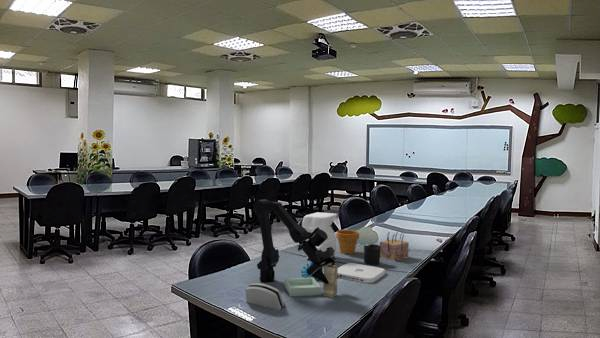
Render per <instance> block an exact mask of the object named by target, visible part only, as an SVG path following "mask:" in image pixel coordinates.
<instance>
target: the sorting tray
mask: <svg viewBox="0 0 600 338" xmlns="http://www.w3.org/2000/svg"><path fill="white" fill-rule="evenodd" d="M283 282H284V283H283V285H284V289H285V290H286V292H287V294H288V296H289V297H302V296H303V297H305V296H306V297H307V296H320V295H322V287H321V285H320V284H319V283H318V281H317V280H316V278H312V277H311V278H308V277H307V278H304V277H299V278H297V277H296V278H295V277H294V278H284V279H283Z"/></svg>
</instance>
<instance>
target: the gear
mask: <svg viewBox="0 0 600 338" xmlns="http://www.w3.org/2000/svg"><path fill="white" fill-rule="evenodd" d="M312 264H313V263H312V262H311V261H310V262H309V263H306V264H305V265H304V266H302V269H301V271H300V273H301V275H300V276H301V278H314V277H311V275H310V276H308V274H307V273H306V270H307V269H308V268H309V267H310V266H311V265H312ZM314 279H315V278H314Z"/></svg>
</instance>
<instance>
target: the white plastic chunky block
mask: <svg viewBox="0 0 600 338" xmlns="http://www.w3.org/2000/svg"><path fill="white" fill-rule="evenodd" d="M337 216H338V213H331V212H322V211H321V212H319V211H317V212H313V213H310V214H305V216H303V219H302V221H301V224H302V225H301V226H302V227H303V228H305V229H306V230H307V232H310V233H312V232H313V231H314V230H315V229H316V228H318V227H319V229H321V230H323V231H324V232H326V234H327V236H328V238H327V239H326V240H325V241H324V242H323V243H322V244H321V245H320V246H319V247H317V246H316V248H317V249H318V250H322V252H324V251H327V248H329V247H332V248H333V249H334V250H335V252H334V256H335V258H336V255H337V254H336V251H337V236H336V233H335V230H333V227H332V224H333V222H334V220H335V219H336V218H337ZM308 240H309V239H307V240H306V241H308ZM306 258H307V259H308V257H307V256H306ZM307 259H306V260H307Z"/></svg>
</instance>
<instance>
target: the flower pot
mask: <svg viewBox="0 0 600 338" xmlns="http://www.w3.org/2000/svg"><path fill="white" fill-rule="evenodd" d="M335 237H336V240H337V241H338V247H339V252H340V254H343V253H347V254H346V255H352V254H351V253H353V254H355V252H356V247H357V242H358V240H359V239H360V232H359V231H357V230H350V229H340V230H337V231H336V233H335Z"/></svg>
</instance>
